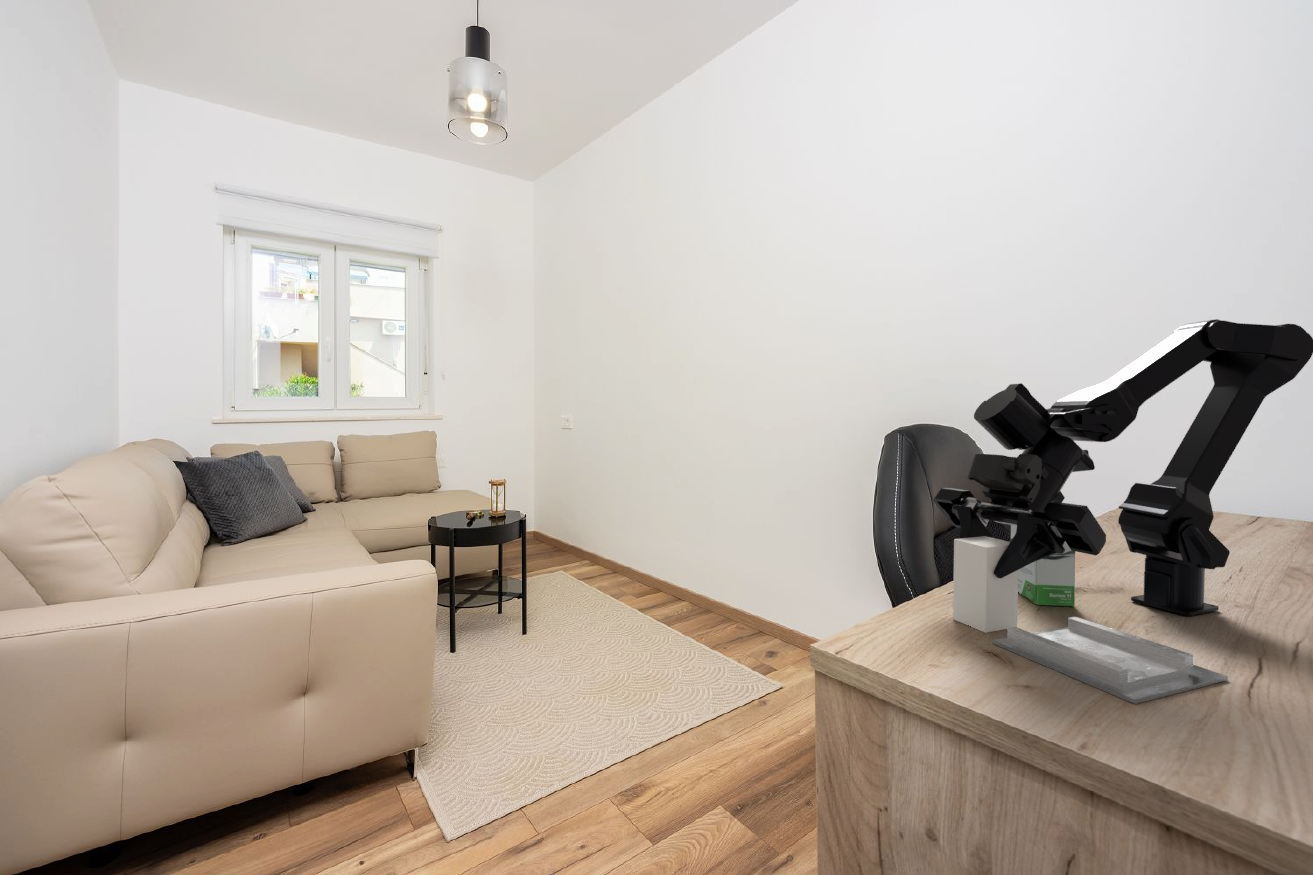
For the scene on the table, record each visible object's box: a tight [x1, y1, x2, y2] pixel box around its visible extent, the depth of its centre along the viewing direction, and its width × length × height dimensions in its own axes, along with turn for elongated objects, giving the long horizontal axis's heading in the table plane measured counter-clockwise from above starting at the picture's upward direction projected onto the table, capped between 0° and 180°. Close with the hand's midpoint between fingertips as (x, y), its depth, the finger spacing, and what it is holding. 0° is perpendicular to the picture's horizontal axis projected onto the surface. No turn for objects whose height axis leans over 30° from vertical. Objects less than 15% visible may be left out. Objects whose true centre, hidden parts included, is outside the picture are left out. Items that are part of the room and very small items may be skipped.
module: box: [952, 536, 1019, 634], centre depth 69 cm, size 5×5×10 cm
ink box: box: [1010, 525, 1076, 607], centre depth 78 cm, size 9×5×12 cm, turn 168°
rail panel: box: [992, 616, 1229, 705], centre depth 58 cm, size 13×14×2 cm
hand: (976, 570), depth 68 cm, fingers closed on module, 5 cm apart
